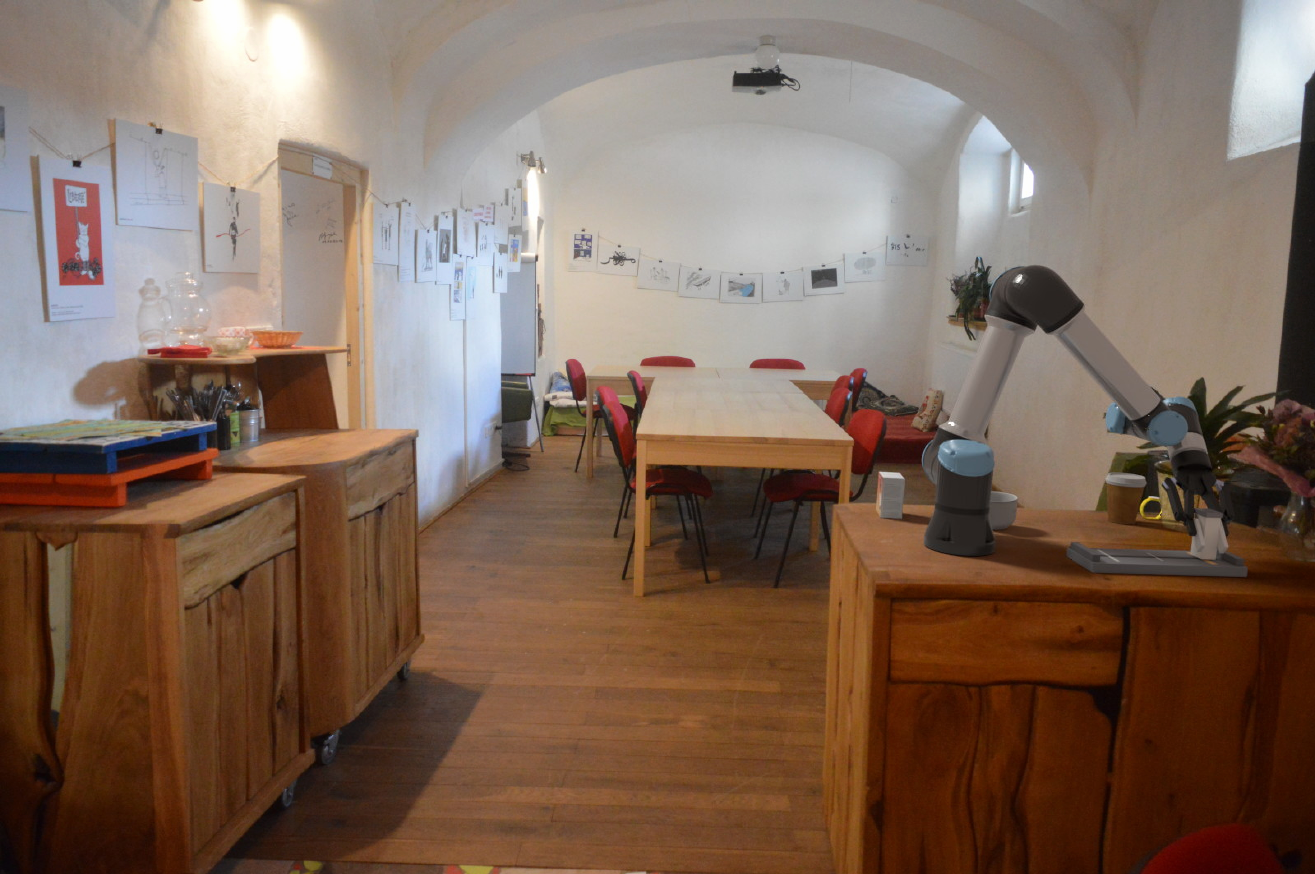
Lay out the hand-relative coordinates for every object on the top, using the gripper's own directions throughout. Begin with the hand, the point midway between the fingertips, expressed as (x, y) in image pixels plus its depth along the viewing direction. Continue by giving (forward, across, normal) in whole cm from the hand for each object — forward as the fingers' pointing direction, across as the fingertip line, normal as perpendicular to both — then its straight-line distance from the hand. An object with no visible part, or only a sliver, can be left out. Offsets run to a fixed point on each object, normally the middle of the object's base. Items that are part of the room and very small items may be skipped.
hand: (1212, 549), depth 189 cm
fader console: (+2, +10, -5) cm, 11 cm away
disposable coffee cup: (-28, +3, -35) cm, 45 cm away
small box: (-21, +62, -28) cm, 72 cm away
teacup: (-18, +38, -25) cm, 50 cm away
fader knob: (-1, 0, -5) cm, 5 cm away
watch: (-32, -6, -40) cm, 51 cm away
